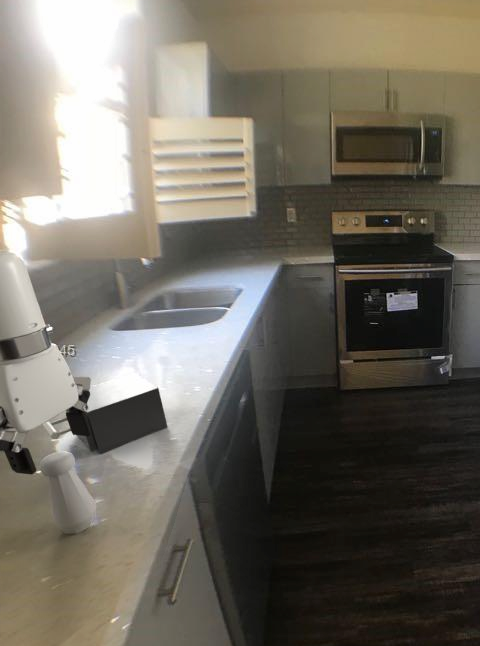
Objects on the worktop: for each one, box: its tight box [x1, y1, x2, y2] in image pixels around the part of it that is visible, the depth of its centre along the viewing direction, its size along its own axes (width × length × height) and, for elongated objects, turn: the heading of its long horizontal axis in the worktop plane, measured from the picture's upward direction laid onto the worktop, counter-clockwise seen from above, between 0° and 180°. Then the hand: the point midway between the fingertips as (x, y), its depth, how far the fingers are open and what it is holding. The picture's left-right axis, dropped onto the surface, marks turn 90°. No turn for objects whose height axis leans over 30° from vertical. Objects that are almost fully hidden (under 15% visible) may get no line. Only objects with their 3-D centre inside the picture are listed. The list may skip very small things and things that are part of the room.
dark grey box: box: [85, 372, 168, 455], centre depth 98 cm, size 14×13×10 cm
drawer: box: [41, 410, 98, 453], centre depth 95 cm, size 17×11×8 cm, turn 138°
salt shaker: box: [39, 450, 98, 535], centre depth 70 cm, size 6×6×13 cm
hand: (56, 452), depth 68 cm, fingers open, 9 cm apart
